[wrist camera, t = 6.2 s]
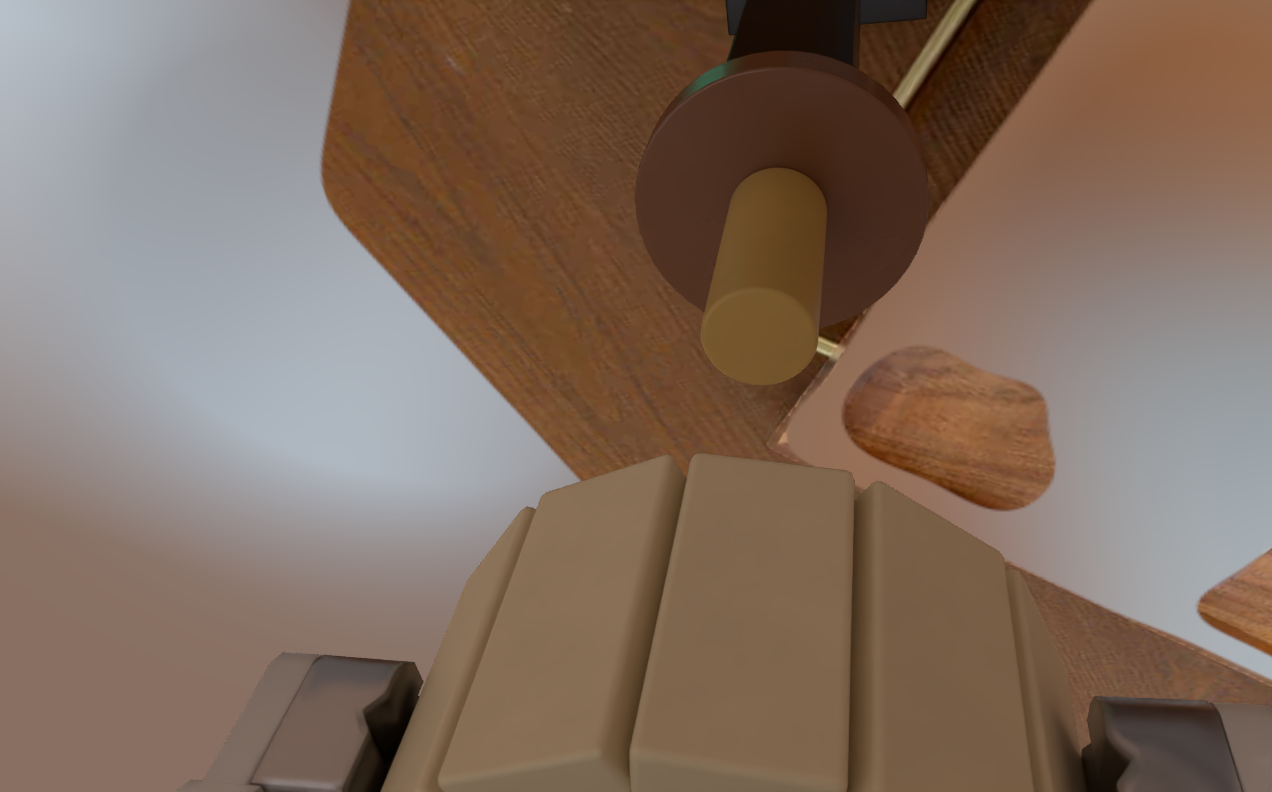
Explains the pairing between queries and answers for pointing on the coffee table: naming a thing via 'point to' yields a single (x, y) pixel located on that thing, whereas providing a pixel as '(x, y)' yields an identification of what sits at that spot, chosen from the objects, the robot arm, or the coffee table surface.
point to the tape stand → (784, 184)
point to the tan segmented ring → (741, 647)
